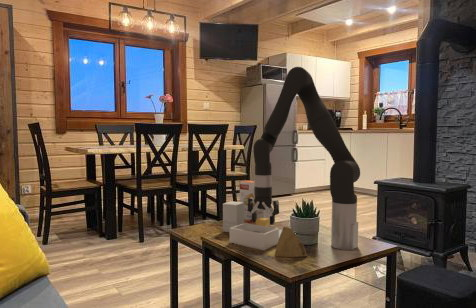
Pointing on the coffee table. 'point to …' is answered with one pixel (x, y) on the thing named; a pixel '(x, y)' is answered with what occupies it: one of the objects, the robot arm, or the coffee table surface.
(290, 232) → the rock
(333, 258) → the coffee table surface
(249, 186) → the cracker box
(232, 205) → the supplement box
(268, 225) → the lid
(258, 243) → the tub
